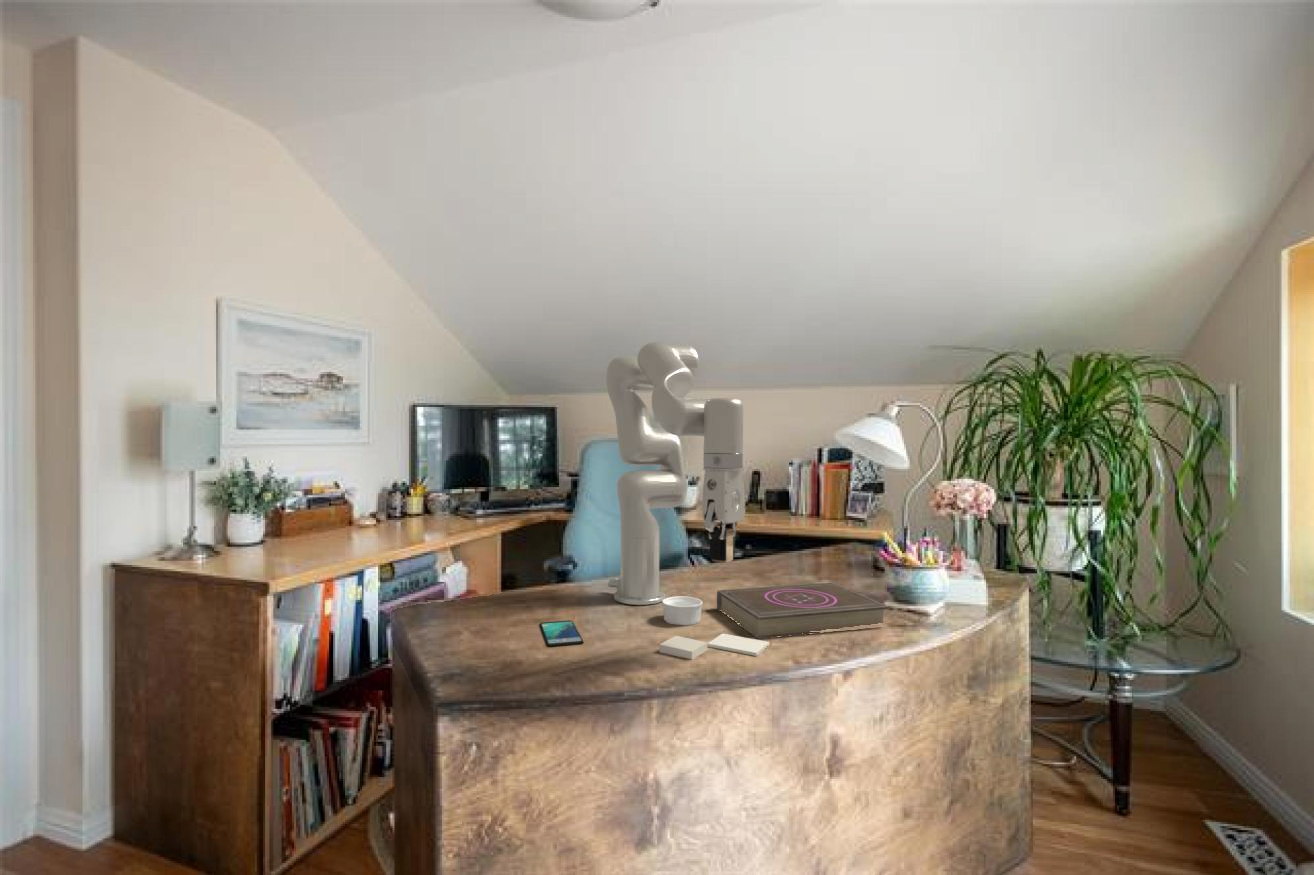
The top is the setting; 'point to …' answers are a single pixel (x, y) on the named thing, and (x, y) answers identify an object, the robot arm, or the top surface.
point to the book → (798, 609)
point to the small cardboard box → (728, 544)
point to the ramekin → (682, 610)
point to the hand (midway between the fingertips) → (722, 557)
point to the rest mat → (739, 644)
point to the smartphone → (560, 633)
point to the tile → (683, 647)
